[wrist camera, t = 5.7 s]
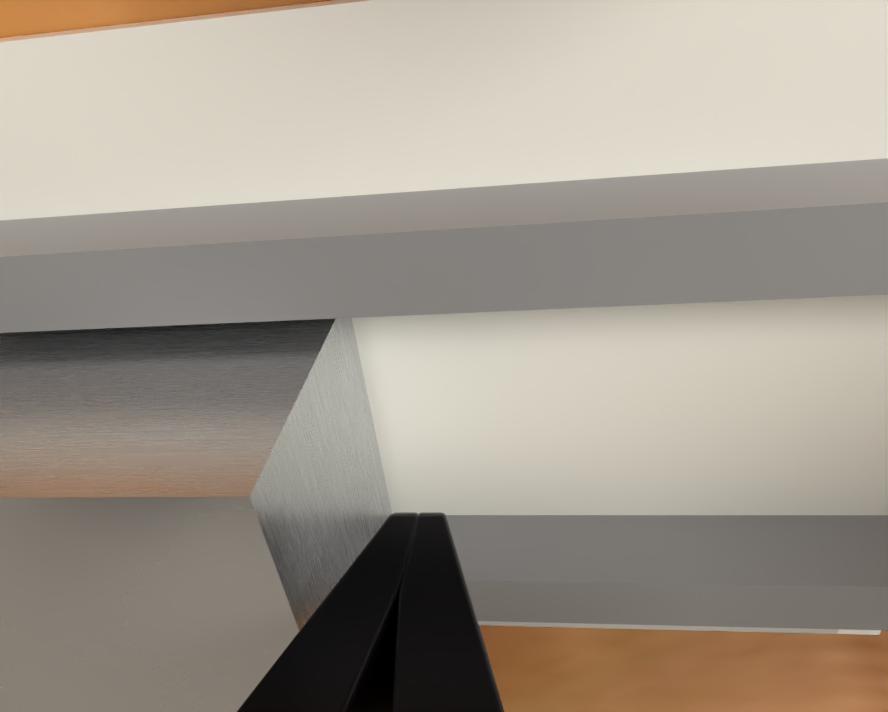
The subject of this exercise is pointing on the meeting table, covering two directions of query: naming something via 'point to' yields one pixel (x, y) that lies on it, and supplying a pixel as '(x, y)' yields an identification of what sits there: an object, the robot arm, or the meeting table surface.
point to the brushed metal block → (175, 507)
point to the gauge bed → (517, 269)
